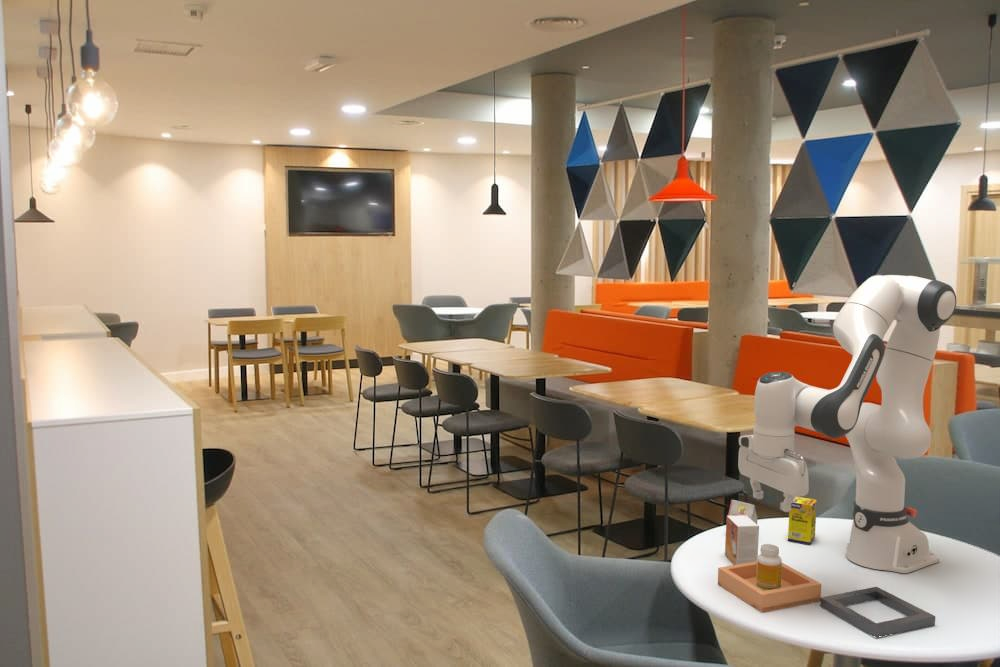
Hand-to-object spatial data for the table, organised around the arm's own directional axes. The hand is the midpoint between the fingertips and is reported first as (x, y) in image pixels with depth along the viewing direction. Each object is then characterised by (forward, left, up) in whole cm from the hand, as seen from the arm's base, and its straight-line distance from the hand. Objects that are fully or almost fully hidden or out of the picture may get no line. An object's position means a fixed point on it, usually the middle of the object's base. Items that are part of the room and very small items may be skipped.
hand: (771, 504), depth 191 cm
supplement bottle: (0, 0, -20) cm, 20 cm away
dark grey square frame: (-14, +18, -21) cm, 31 cm away
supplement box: (-30, -24, -21) cm, 44 cm away
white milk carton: (-16, -31, -21) cm, 41 cm away
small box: (-6, -18, -21) cm, 28 cm away
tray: (0, 0, -21) cm, 21 cm away
